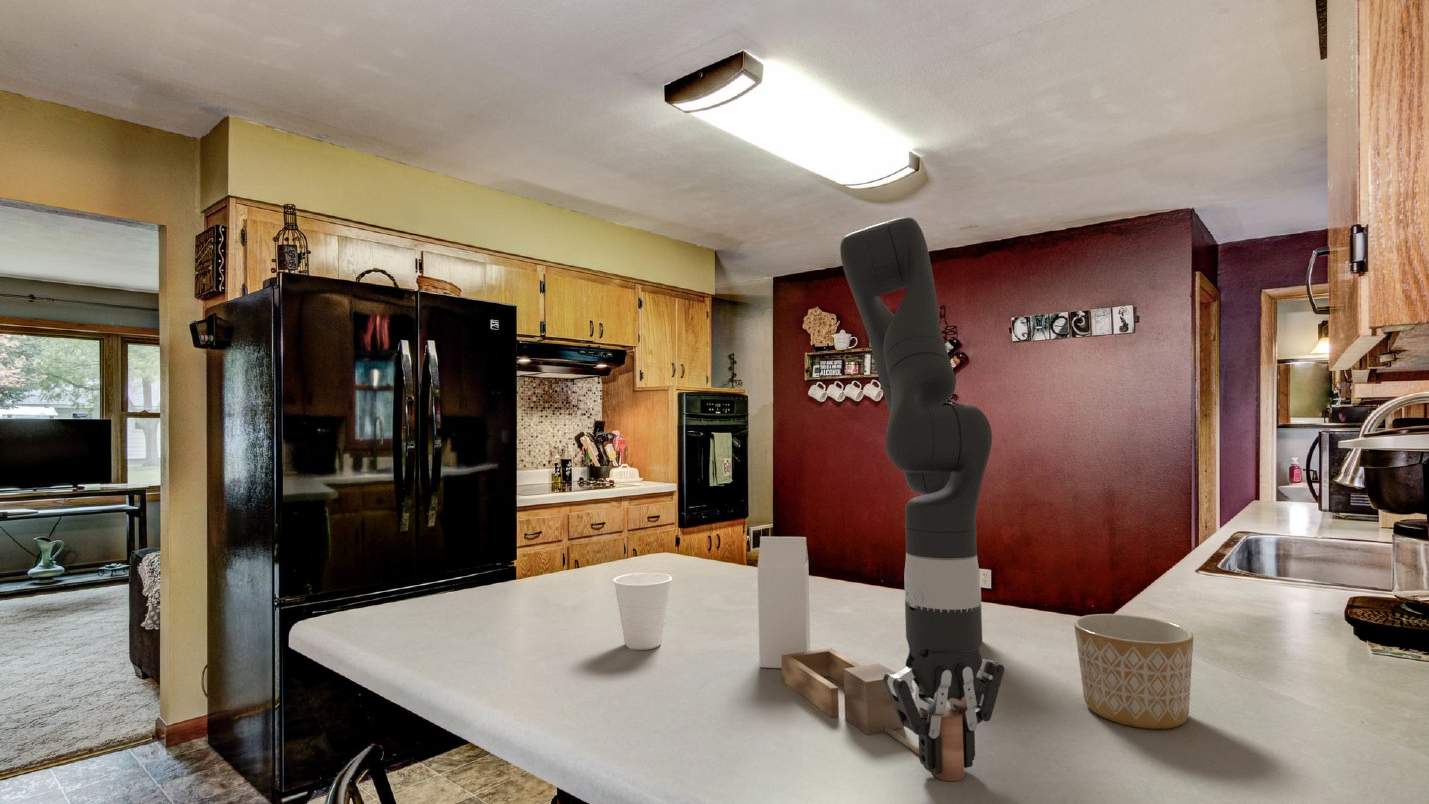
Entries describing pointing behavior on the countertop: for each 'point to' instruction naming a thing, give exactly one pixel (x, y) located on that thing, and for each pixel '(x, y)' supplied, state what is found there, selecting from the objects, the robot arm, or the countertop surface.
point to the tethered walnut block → (877, 714)
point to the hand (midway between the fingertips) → (947, 766)
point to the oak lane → (817, 676)
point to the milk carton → (782, 599)
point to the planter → (1135, 669)
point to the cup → (642, 608)
